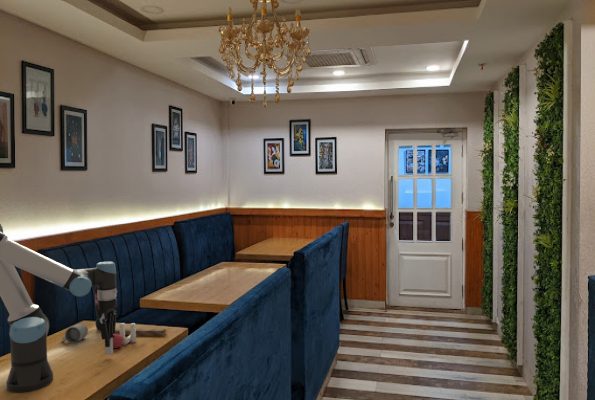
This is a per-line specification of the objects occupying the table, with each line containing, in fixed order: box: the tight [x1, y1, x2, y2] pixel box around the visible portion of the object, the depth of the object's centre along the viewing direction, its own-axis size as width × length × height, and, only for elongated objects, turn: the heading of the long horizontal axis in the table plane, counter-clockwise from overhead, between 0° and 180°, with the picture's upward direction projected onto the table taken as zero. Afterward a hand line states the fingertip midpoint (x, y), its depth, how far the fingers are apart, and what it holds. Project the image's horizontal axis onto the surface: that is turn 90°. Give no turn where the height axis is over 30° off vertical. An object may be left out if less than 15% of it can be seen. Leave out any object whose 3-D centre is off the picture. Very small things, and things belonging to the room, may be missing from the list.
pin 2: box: [129, 322, 137, 344], centre depth 216 cm, size 2×2×8 cm
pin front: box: [122, 335, 131, 346], centre depth 217 cm, size 2×2×8 cm
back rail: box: [115, 328, 167, 337], centre depth 226 cm, size 24×3×2 cm, turn 87°
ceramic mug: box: [61, 323, 89, 344], centre depth 220 cm, size 11×8×8 cm
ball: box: [112, 334, 123, 349], centre depth 209 cm, size 6×6×6 cm
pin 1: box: [118, 322, 126, 340], centre depth 217 cm, size 2×2×8 cm
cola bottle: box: [93, 286, 101, 331], centre depth 235 cm, size 8×8×30 cm
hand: (109, 353), depth 198 cm, fingers closed
